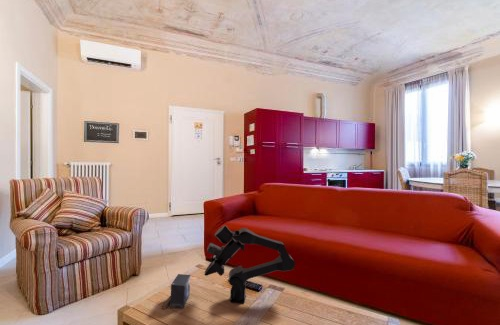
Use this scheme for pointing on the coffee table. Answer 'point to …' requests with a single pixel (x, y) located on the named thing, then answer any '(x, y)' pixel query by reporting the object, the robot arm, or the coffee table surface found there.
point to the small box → (180, 291)
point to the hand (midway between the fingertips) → (205, 273)
